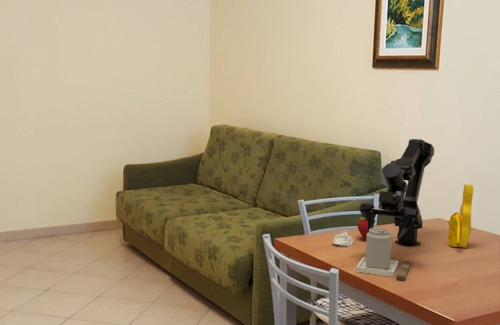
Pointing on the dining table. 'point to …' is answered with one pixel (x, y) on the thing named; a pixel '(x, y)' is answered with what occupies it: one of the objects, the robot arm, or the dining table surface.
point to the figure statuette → (461, 221)
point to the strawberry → (363, 227)
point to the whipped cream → (343, 239)
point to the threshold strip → (403, 270)
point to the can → (378, 248)
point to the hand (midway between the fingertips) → (383, 236)
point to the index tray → (388, 272)
